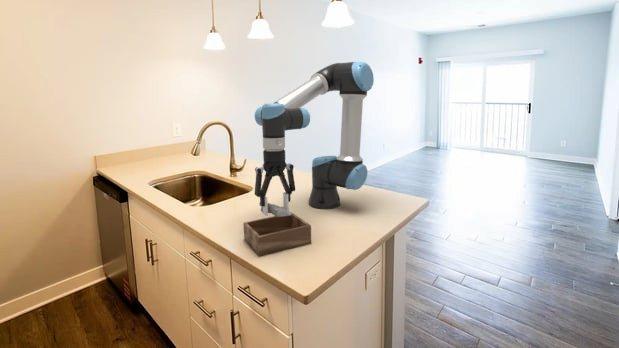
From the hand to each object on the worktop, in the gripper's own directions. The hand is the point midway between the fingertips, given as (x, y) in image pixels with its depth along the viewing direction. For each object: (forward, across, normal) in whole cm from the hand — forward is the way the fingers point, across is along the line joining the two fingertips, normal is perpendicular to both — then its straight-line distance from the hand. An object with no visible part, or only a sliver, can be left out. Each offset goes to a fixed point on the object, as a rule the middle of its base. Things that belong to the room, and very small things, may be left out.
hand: (275, 212), depth 125 cm
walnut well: (+12, 0, 0) cm, 12 cm away
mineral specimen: (+1, 0, 0) cm, 1 cm away
